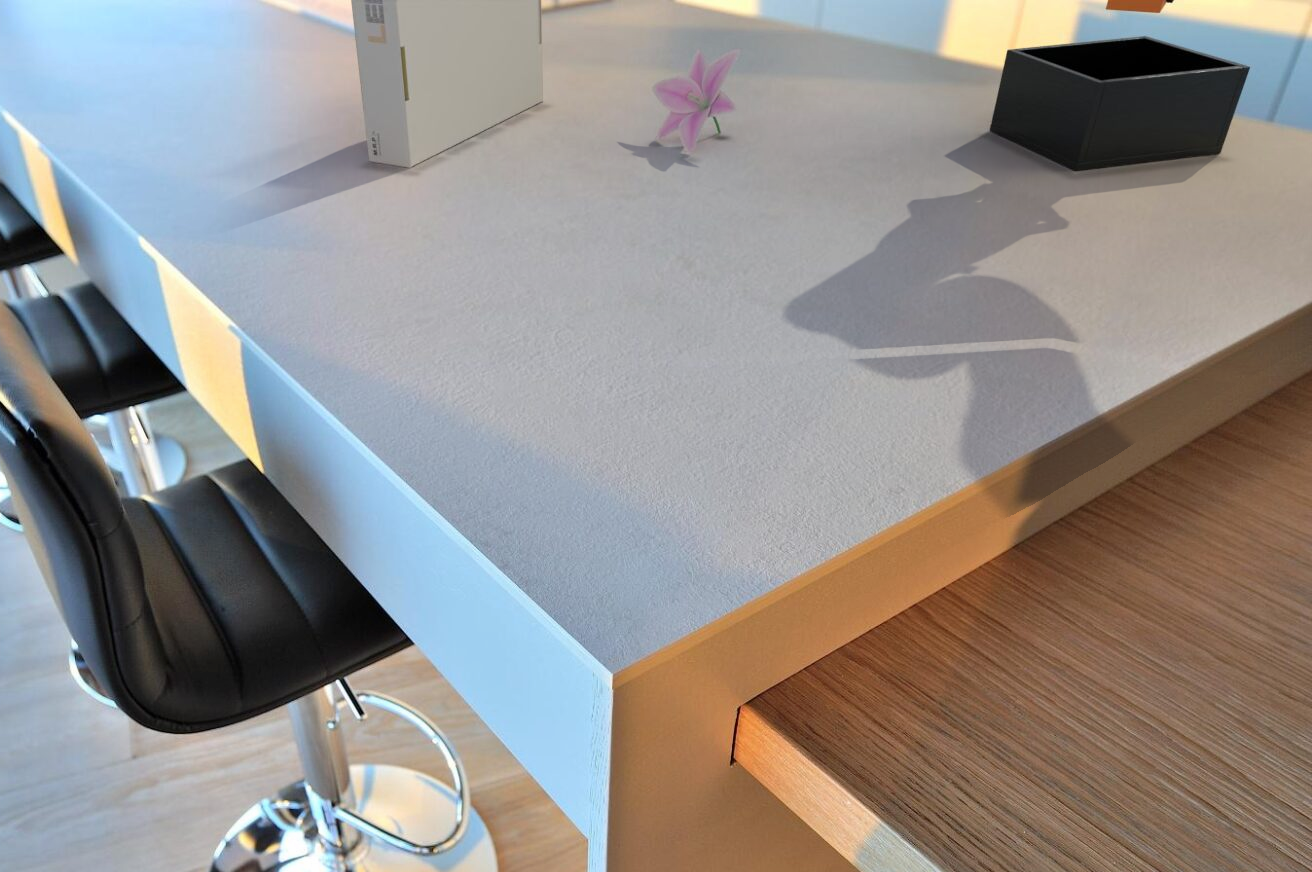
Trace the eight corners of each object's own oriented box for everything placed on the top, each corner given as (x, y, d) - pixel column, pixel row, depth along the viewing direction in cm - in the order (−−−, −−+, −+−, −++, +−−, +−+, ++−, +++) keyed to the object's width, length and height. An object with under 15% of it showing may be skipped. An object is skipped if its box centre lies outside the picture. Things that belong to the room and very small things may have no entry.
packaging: (504, 96, 145) (498, -73, 133) (543, 101, 142) (541, -71, 131) (367, 161, 124) (346, -33, 113) (411, 168, 122) (393, -30, 110)
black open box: (1122, 115, 128) (1145, 35, 123) (1220, 153, 116) (1250, 66, 111) (989, 130, 125) (1007, 49, 120) (1075, 171, 113) (1099, 82, 108)
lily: (650, 132, 133) (627, 68, 125) (741, 88, 131) (723, 20, 123) (678, 192, 126) (655, 128, 118) (774, 147, 124) (757, 78, 116)
